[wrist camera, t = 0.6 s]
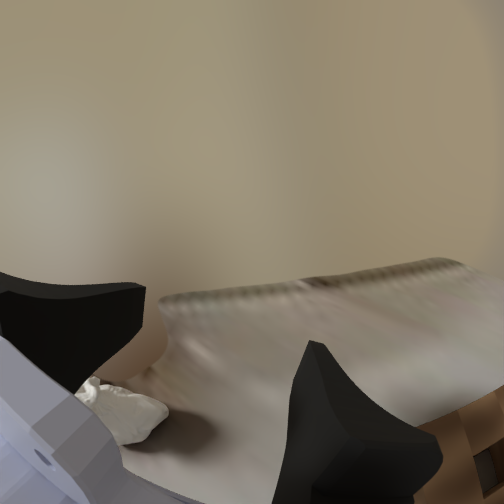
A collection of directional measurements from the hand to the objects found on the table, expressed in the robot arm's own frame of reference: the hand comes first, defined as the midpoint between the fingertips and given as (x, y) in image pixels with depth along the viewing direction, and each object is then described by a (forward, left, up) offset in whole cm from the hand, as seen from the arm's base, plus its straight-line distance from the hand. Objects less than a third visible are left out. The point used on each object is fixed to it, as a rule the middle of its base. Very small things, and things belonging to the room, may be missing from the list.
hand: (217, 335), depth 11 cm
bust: (+2, +15, -17) cm, 23 cm away
